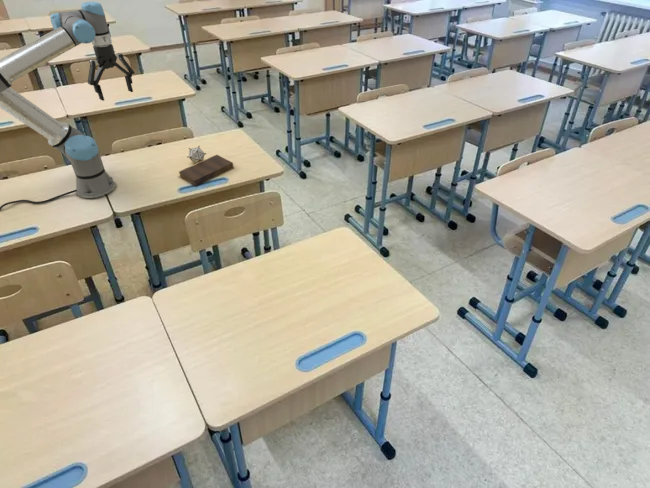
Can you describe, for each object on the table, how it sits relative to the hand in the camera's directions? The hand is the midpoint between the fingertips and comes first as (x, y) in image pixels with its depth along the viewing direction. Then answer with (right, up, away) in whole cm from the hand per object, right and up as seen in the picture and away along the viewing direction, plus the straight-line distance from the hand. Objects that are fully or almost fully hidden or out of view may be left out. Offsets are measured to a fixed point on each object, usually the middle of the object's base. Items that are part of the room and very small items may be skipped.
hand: (116, 95), depth 199 cm
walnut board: (+36, -32, +14) cm, 50 cm away
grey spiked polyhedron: (+30, -26, +21) cm, 45 cm away
